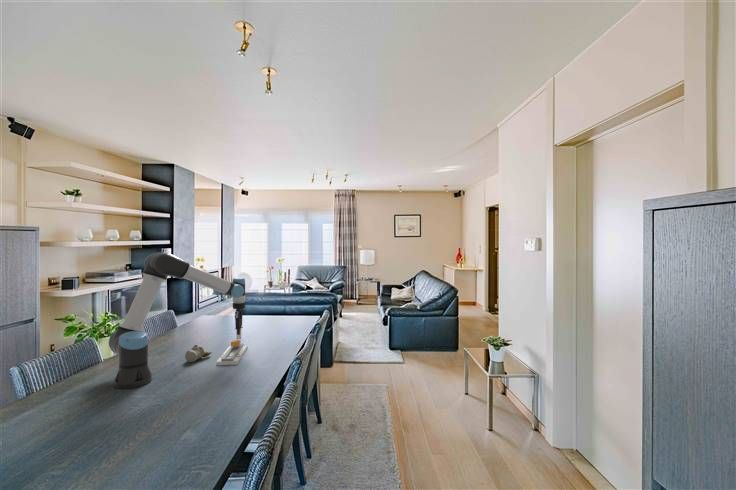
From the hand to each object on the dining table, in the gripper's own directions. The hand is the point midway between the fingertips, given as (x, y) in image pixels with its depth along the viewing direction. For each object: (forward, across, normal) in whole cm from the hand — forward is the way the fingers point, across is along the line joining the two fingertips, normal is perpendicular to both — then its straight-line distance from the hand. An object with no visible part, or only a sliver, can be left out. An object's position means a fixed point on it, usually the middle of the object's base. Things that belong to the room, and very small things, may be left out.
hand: (238, 339), depth 223 cm
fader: (+4, -8, 0) cm, 9 cm away
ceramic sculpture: (+6, -18, +20) cm, 28 cm away
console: (+6, -15, 0) cm, 16 cm away
